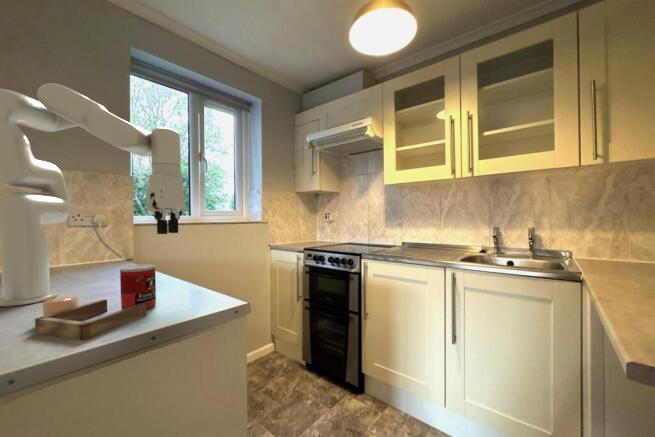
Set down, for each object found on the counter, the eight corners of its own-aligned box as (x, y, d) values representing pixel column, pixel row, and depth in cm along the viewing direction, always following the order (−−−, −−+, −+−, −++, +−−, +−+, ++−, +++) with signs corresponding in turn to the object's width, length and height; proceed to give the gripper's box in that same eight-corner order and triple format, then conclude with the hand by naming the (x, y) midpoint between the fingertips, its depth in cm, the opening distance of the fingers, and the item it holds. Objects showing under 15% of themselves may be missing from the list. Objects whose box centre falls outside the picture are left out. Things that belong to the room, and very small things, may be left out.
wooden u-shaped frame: (35, 332, 60) (35, 318, 60) (103, 310, 73) (103, 299, 73) (83, 340, 56) (83, 325, 56) (146, 315, 70) (146, 303, 70)
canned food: (139, 313, 71) (138, 269, 71) (113, 312, 72) (111, 269, 72) (163, 304, 78) (162, 264, 78) (138, 302, 80) (137, 263, 80)
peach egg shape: (36, 324, 65) (36, 302, 65) (67, 315, 71) (66, 295, 71) (55, 326, 63) (54, 304, 63) (84, 317, 69) (84, 296, 69)
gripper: (177, 175, 93) (179, 231, 94) (130, 168, 77) (132, 235, 78) (196, 174, 91) (198, 231, 91) (152, 166, 75) (154, 235, 76)
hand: (167, 232), depth 85 cm, fingers open, 3 cm apart
